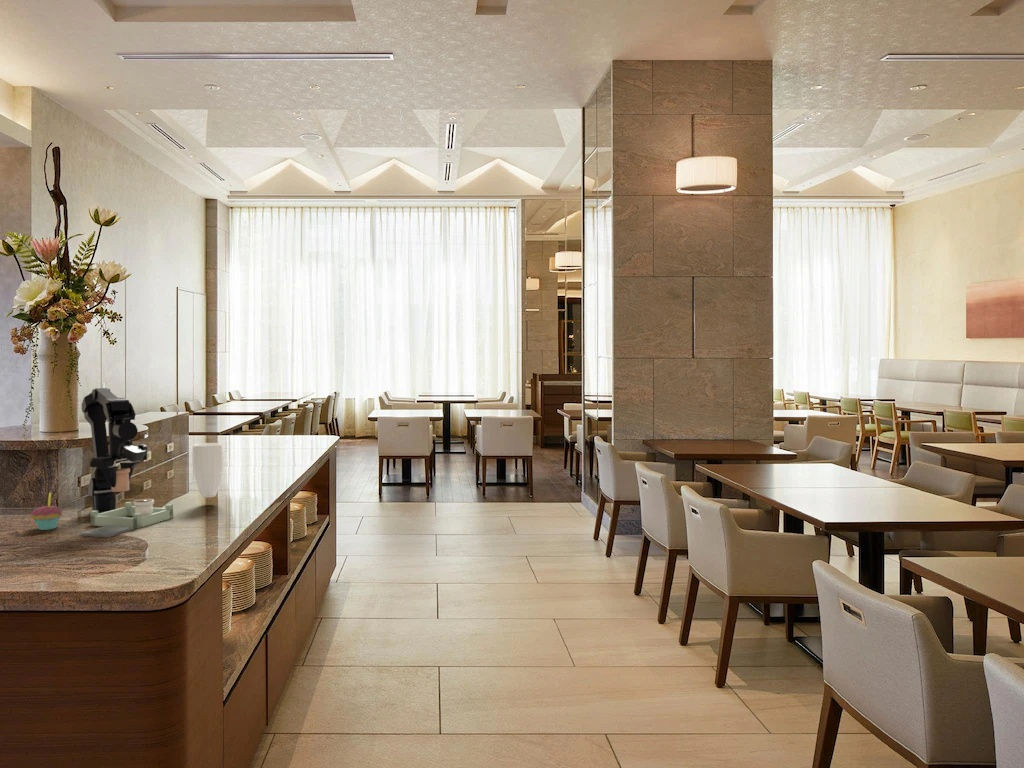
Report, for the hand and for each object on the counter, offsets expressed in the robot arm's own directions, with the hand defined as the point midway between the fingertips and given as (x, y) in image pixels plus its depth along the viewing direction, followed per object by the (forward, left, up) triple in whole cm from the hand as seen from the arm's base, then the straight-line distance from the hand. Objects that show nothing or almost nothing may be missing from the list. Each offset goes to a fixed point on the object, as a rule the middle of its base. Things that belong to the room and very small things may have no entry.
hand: (120, 485), depth 257 cm
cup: (+10, +30, -12) cm, 34 cm away
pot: (+9, 0, -12) cm, 14 cm away
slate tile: (+8, -15, -12) cm, 20 cm away
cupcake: (-15, -15, -12) cm, 24 cm away
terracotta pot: (0, 0, -2) cm, 2 cm away
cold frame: (+4, 0, -12) cm, 12 cm away
